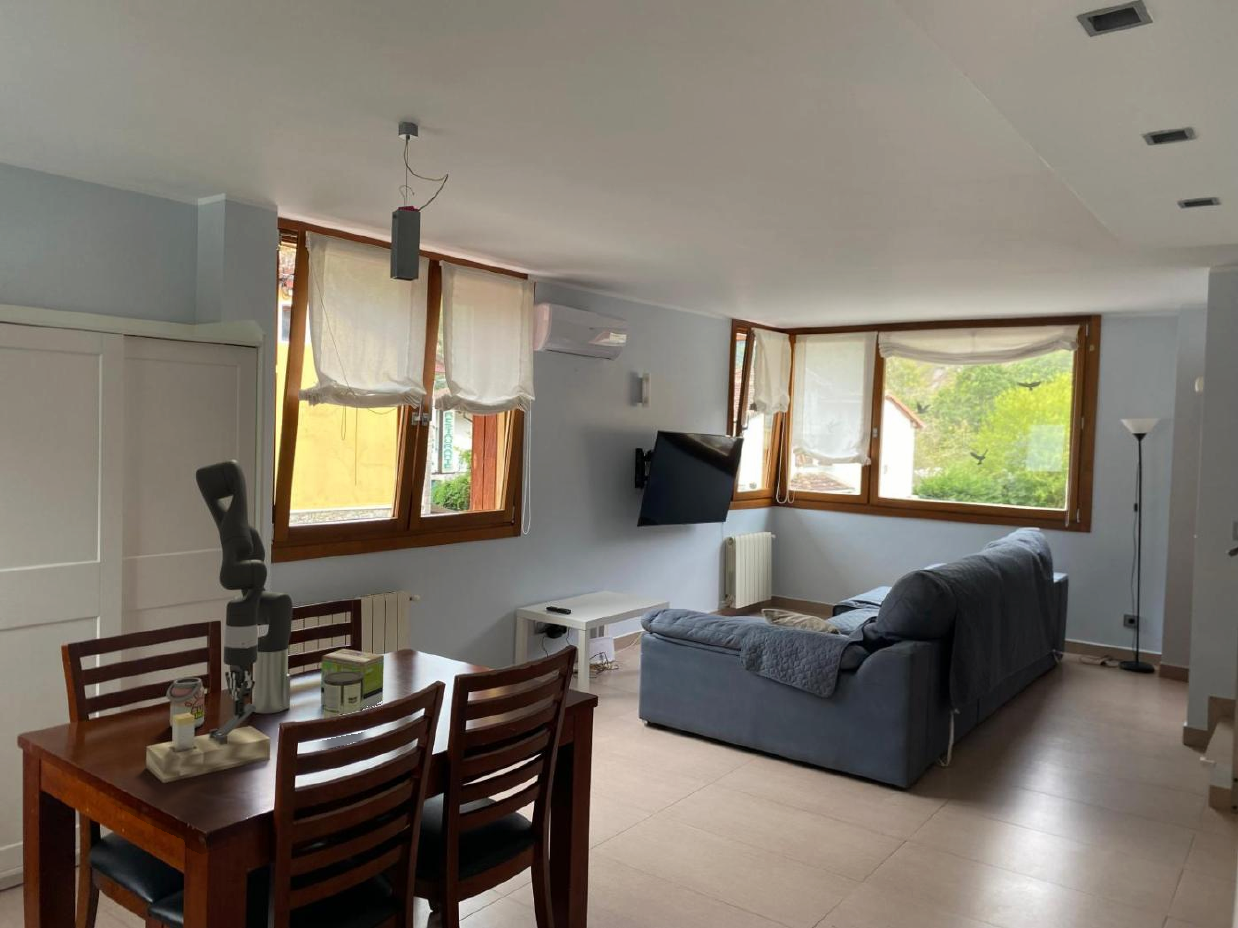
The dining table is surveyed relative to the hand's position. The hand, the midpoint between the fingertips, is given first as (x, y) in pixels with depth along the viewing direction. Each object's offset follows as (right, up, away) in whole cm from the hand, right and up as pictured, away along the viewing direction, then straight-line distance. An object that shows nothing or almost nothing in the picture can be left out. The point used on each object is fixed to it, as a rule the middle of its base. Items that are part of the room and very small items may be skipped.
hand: (238, 714), depth 218 cm
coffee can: (+18, -11, +24) cm, 32 cm away
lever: (-1, -2, 0) cm, 2 cm away
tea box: (+14, -10, +45) cm, 48 cm away
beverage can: (-23, -9, +22) cm, 33 cm away
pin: (-9, -10, -8) cm, 16 cm away
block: (-5, -10, -4) cm, 12 cm away
